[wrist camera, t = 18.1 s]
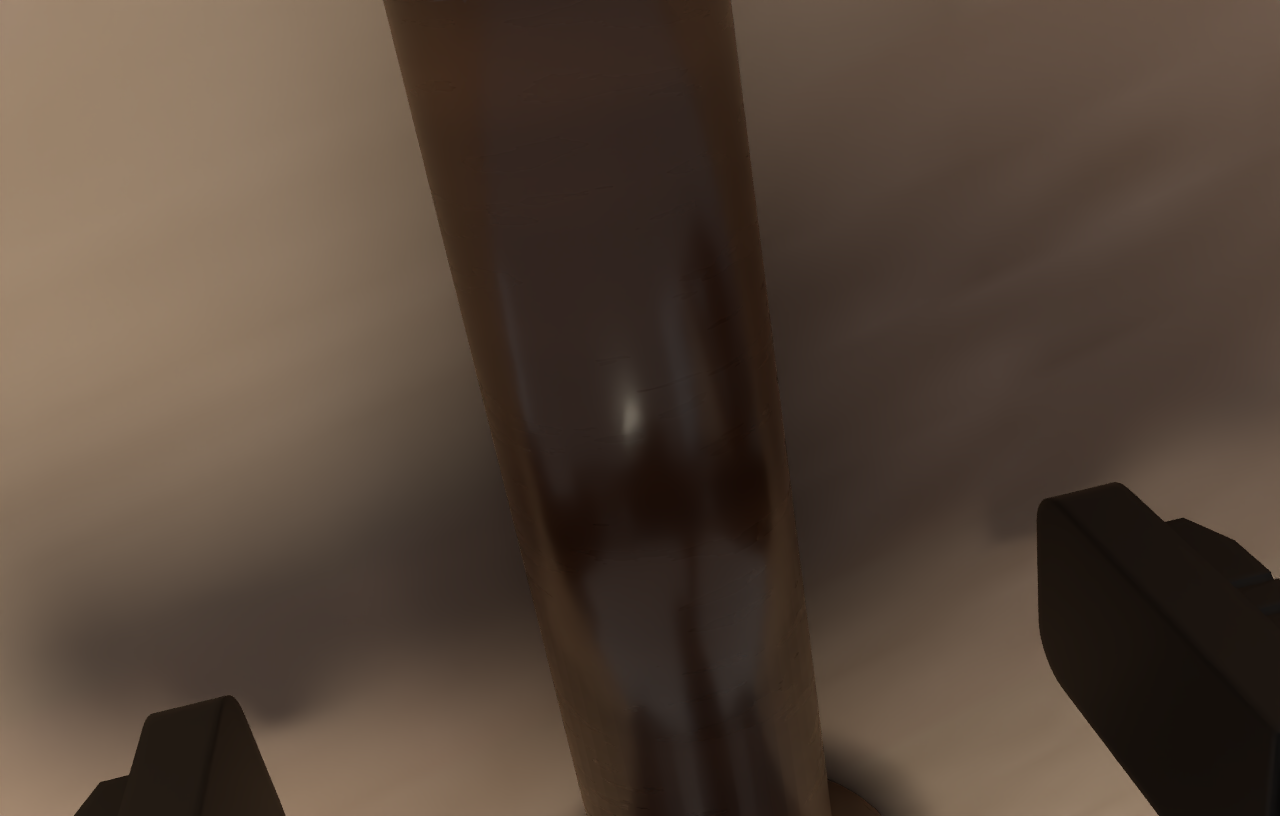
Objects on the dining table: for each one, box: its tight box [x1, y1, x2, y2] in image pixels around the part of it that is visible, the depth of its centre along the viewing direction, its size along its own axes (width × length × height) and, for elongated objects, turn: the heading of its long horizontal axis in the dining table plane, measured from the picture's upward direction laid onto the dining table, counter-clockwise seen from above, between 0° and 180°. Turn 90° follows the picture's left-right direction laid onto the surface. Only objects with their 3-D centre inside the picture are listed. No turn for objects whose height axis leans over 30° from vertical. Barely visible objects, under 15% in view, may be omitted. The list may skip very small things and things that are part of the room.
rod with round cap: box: [383, 0, 881, 816], centre depth 12 cm, size 16×5×3 cm, turn 10°
